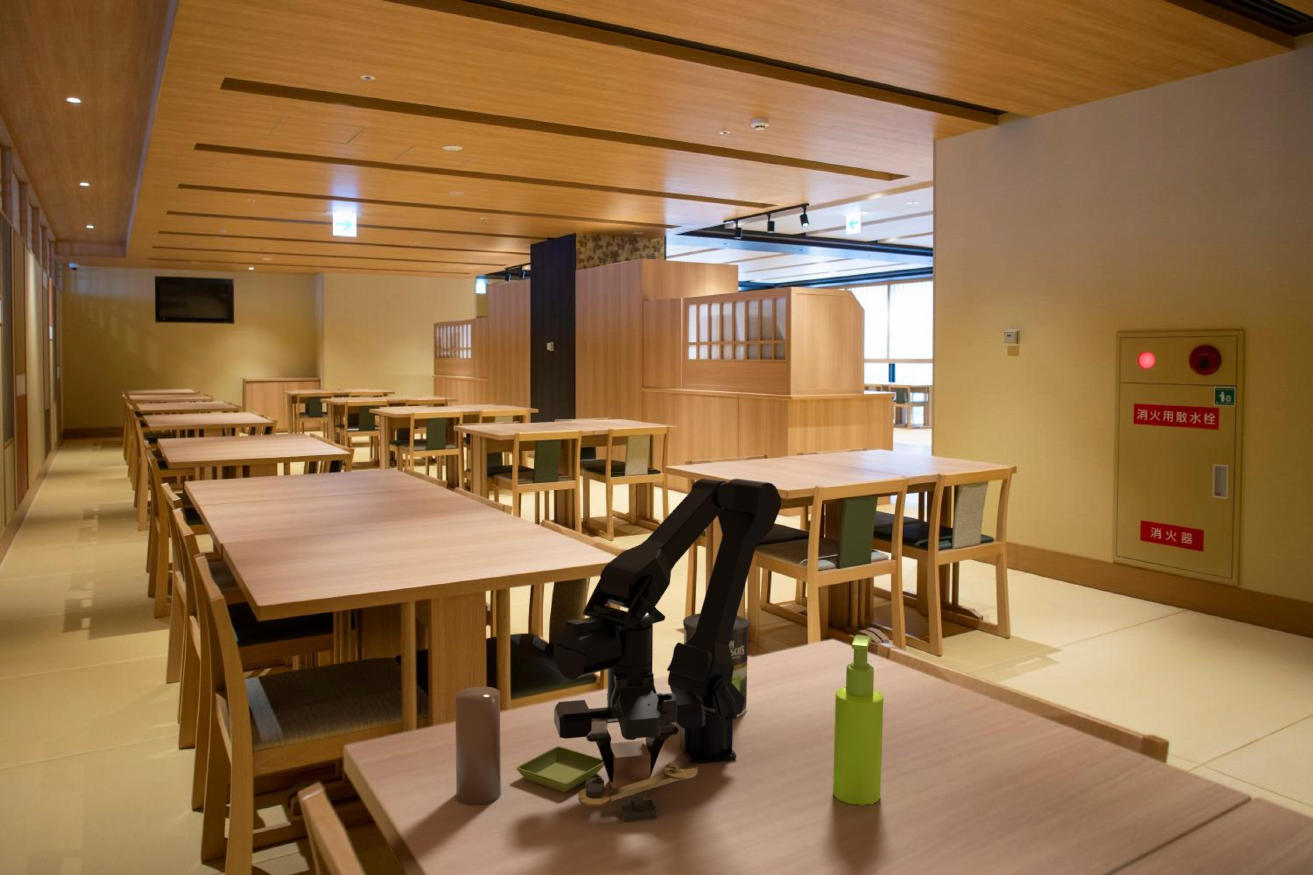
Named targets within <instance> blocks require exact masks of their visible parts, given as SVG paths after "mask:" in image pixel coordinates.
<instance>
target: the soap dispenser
mask: <svg viewBox="0 0 1313 875" xmlns="http://www.w3.org/2000/svg"><path fill="white" fill-rule="evenodd" d="M872 639H873V636H872V635H871V636H870V635H864V634H856V635H854V638H853V641H852V643H851V649H852V650H853V662H850V663H849V664H847V665H846V667H845V668H846V674H845V678H846V679H845V687H841V688H839V689H836V691H835V699H834V700H835V705H834V706H835V707H834V709H835V711H834V736H833V737H834V739H833V740H834V741H833V742H834V745H833V776H832V777H833V778H832V779H833V783H832V794H833V796H834V797H835V798H836V799H837V800H838V801H841V802H843V803H846V804H849V805H853V804H855V805H854V806H857V805H856V804H859V805H858V806H866V805H865V804H870V805H873V804H872V803H874V804H876V803H878V802H879V801H880V800H879V799H881V790H882V788H881V787H882V786H881V784H882V753H883V750H882V749H883V728H884V727H883V724H884V723H883V722H884V721H883V720H884V694H882V693H881V692H880V691H878V690H876V689H875V688H874V680H875V678H874V677H875V668H874V667H873V666H872V665H871V664H869V663H868V655H869V654H868V653H869V646H870V643H871V641H872ZM877 801H878V802H877ZM875 802H876V803H875ZM863 804H864V805H863Z"/></svg>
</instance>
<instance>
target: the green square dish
mask: <svg viewBox="0 0 1313 875" xmlns="http://www.w3.org/2000/svg"><path fill="white" fill-rule="evenodd" d="M602 768H604V763H603V760H602V758H600V757H598V756H593V755H590V754H587V753H583V752H580V751H577V750H573V749H570V748H568V747H564V746H561V745H560V746H559V745H558V746H554V747H553V748H550V749H548V750H547V751H545V752H543V753H541V754H539V755H537V756H535V757H533V758H531V759H529V760H527V761H526V762H523V763H522V764H519V765H518V766H516V768H515V769H516V770H517V772H518V773H519V774H520V775H521V776H522V777H523V778H525V779H526V780H527V781H530V782H533V783H537V784H539V785H542V786H546V787H548V788H551V789H554V790H556V791H560V792H563V793H566V792H568V791H570V790H571V789H573V788H575V787H577V786H579V785H580V784H582V783H584V782H586V780H587V779H589V778H593V777H594V776H596V775H597V774H598V773H599V772H600V771H601V770H602Z"/></svg>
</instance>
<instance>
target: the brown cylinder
mask: <svg viewBox="0 0 1313 875" xmlns="http://www.w3.org/2000/svg"><path fill="white" fill-rule="evenodd" d="M454 700H455V701H454V708H455V709H454V710H455V711H454V713H455V716H454V717H455V721H454V722H455V776H456V778H455V782H456V785H455V786H456V788H455V790H456V791H455V793H456V800H457V801H458V802H459V803H461V804H465V805H469V806H482V805H486V804H490V803H493V802H495V801H496V800H498V799H499V798H500V797H501V795H502V784H501V783H502V774H501V773H502V772H501V771H502V769H501V766H502V765H501V764H502V763H501V762H502V761H501V752H502V751H501V749H502V748H501V692H500V690H499V689H497V688H495V687H491V686H472V687H466V688H463V689H461V690H458V691H457V692H456V693H455V694H454Z"/></svg>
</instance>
